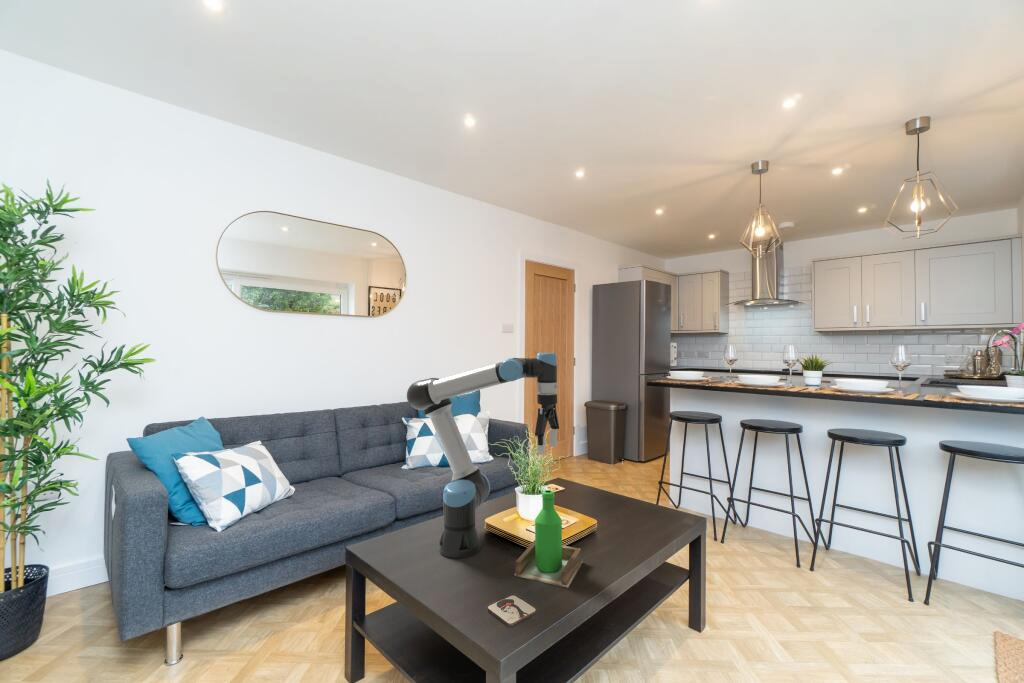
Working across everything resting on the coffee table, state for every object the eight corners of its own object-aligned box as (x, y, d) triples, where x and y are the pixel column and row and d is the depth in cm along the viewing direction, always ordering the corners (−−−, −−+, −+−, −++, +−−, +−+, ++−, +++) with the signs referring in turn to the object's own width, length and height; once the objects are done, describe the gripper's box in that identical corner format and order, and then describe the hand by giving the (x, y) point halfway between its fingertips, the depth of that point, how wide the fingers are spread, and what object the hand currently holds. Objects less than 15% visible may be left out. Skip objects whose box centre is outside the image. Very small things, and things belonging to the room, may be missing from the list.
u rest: (514, 575, 143) (514, 561, 143) (533, 552, 158) (533, 539, 158) (568, 587, 135) (567, 572, 135) (582, 562, 151) (582, 549, 151)
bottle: (560, 575, 141) (560, 496, 141) (533, 572, 143) (533, 495, 143) (563, 561, 150) (562, 488, 150) (537, 559, 151) (537, 486, 152)
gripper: (545, 397, 154) (545, 458, 154) (566, 390, 177) (566, 443, 177) (525, 396, 157) (525, 456, 157) (548, 390, 180) (549, 442, 180)
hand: (547, 449), depth 167 cm, fingers open, 13 cm apart
